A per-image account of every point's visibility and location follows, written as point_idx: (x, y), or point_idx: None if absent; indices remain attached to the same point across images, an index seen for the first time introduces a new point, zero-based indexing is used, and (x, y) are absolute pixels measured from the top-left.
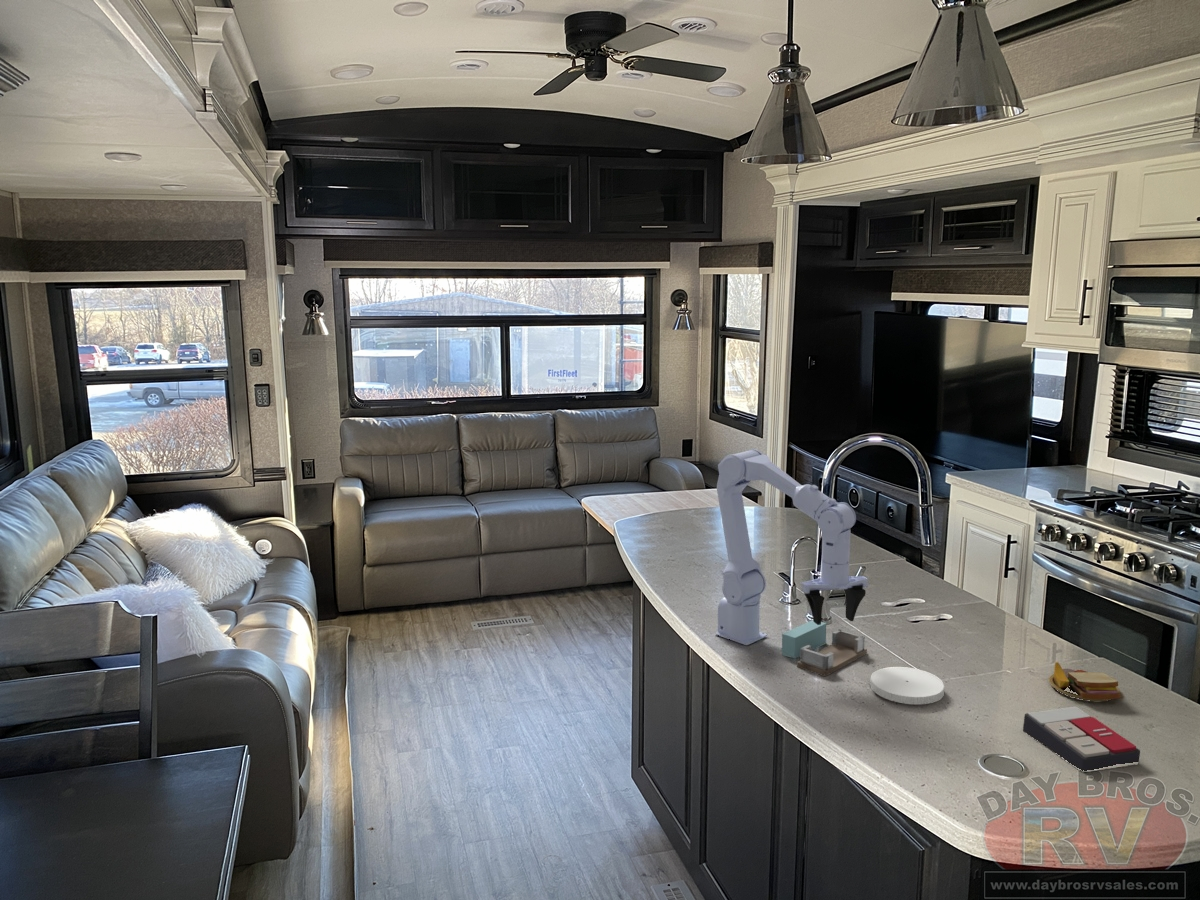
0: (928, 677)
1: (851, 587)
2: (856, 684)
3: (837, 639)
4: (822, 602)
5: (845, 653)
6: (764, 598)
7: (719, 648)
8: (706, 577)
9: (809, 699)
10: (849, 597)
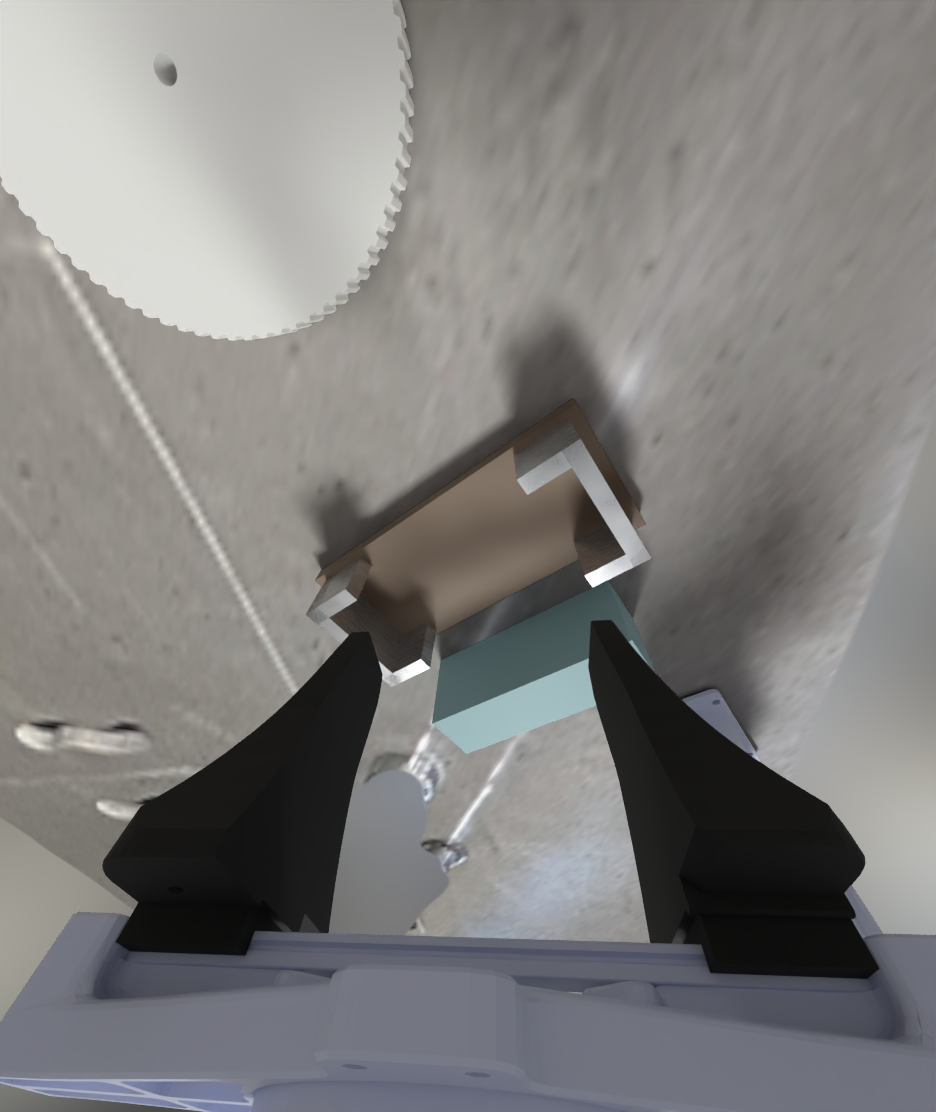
0: (19, 121)
1: (260, 935)
2: (463, 271)
3: (413, 643)
4: (671, 769)
5: (410, 562)
6: (496, 868)
7: (813, 687)
8: (574, 938)
9: (835, 81)
10: (320, 811)
